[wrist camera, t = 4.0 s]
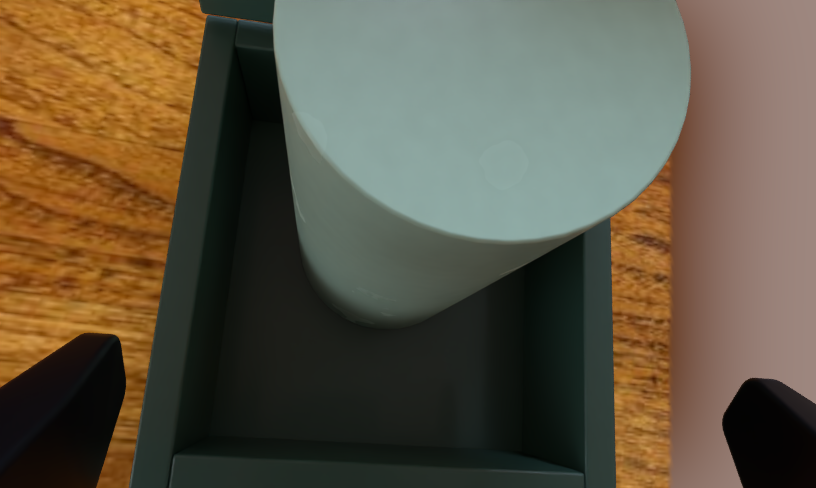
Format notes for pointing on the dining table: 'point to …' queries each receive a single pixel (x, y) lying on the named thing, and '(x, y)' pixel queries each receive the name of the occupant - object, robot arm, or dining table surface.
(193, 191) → the box
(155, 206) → the dining table surface
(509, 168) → the pale green cylinder
